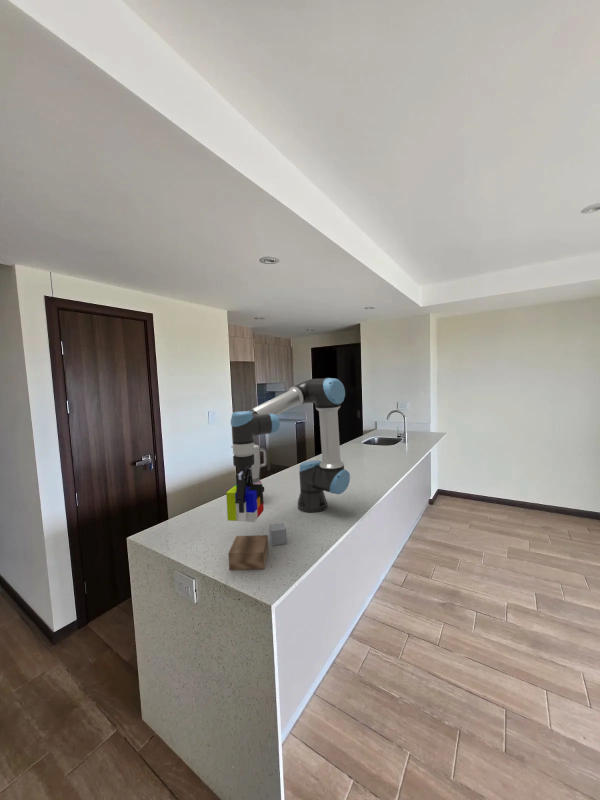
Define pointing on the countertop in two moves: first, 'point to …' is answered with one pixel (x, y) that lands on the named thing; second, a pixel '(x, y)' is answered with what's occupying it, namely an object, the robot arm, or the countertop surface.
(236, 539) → the walnut block
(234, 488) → the puzzle toy
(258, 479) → the blender
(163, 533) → the countertop surface
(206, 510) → the countertop surface
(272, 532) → the slate block
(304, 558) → the countertop surface
